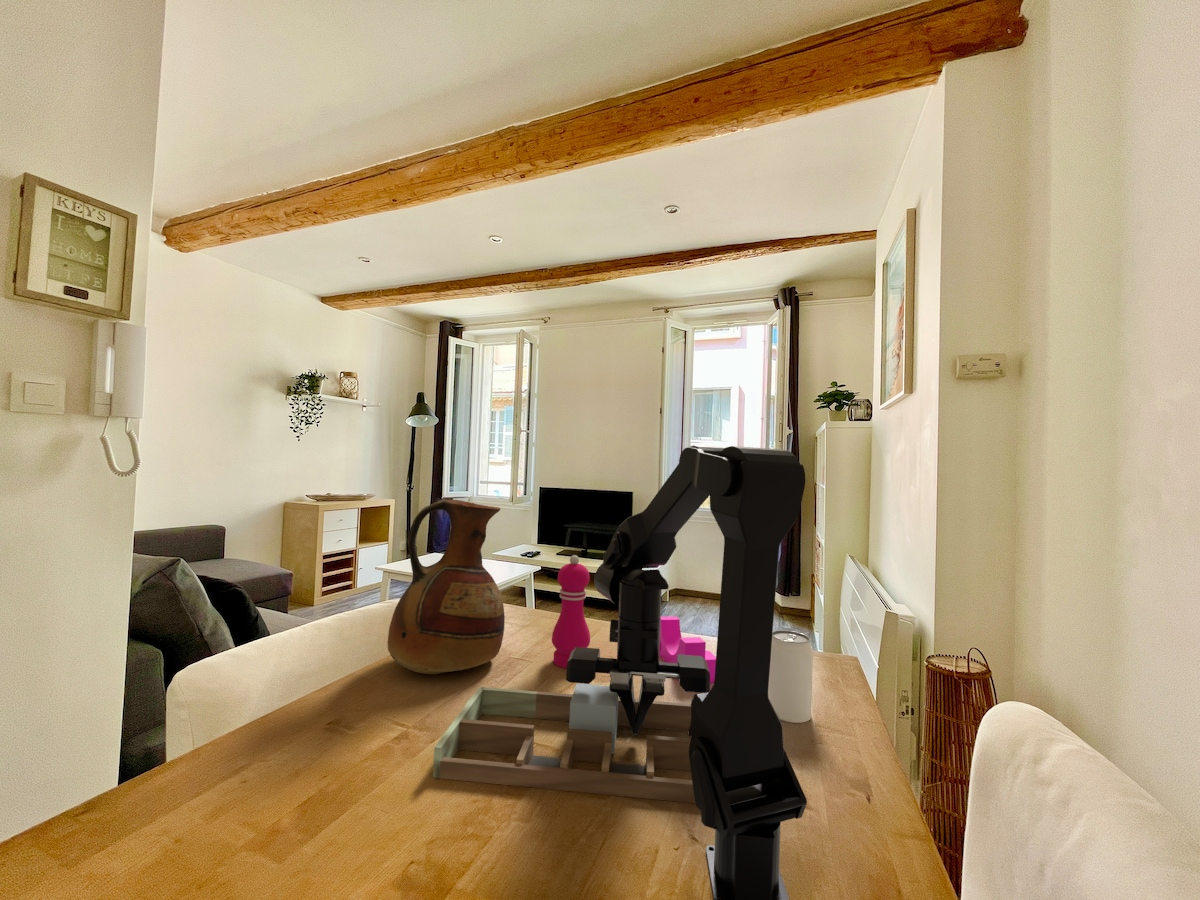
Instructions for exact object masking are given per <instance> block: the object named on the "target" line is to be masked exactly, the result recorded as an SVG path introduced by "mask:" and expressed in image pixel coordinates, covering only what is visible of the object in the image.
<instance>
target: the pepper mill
mask: <svg viewBox="0 0 1200 900" xmlns="http://www.w3.org/2000/svg"><path fill="white" fill-rule="evenodd" d="M569 562H570V563H566V564H564V565H563V566H562V567H561V568H560V569H559V571H558V574H557V582H558V584H559V586H560V587H561V588H560V589H559V598H560V599H561V607H560V608H561V611H560V614H559V617H558V619H557V622H556V623H555V625H554V626H553V627H554V628H553V631H552V633H551V643H552V645H553V646H554V648H555V650H554V652H553V659H552V660H553V664H554V665H555V666H557V667H559V668H563V669H567V662H568V659H569V657H570V655H571V652H572V651H573V650H574V649H575V648H576V647H583V648H589V646H590V644H591V633H590V629H589V626H588V624H587V620H586V618H585V613H584V601H585V599H587V598H586V597H587V590H586V587H587V586H589V585H588V584H589V583H590V572H589V570H588V568H587V567H586V566H584V565H583V564H581V563H579V562H580V558H579V556H578V555H576V554H573V555H571V556H570V558H569Z"/></svg>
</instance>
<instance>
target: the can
mask: <svg viewBox="0 0 1200 900" xmlns="http://www.w3.org/2000/svg"><path fill="white" fill-rule="evenodd" d="M813 662H814V651H813V647H812V644H811V638H810V637H809V636H808V635H806V634H805V633H801V632H798V631H792V630H786V629H785V630H783V629H782V630H781V629H780V630H775V631H774V630H773V633H772V647H771V660H770V673H769V686H768V697H769V700H770V702H771V704H772V706H773V708H774V710H775V712H776V713H777V715H778V717H779V719H780V721H781V722H782V721H783V722H787V723H792V724H801V723H805V722H809V720H811V719H812V706H813V705H812V703H813V701H812V700H813V668H814V663H813Z"/></svg>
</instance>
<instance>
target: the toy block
mask: <svg viewBox="0 0 1200 900" xmlns="http://www.w3.org/2000/svg"><path fill="white" fill-rule="evenodd" d="M681 633H682V632H681V619H680V618H679V617H678V616H676V615H675V616H661V623H660V652H659V657H661V658H662V659H663V662H668V663H677V656H678V654H680V655H693V656H702V657H703V658H704V659H705V660H706V662H707V665H708V669H709V672H710V684H712V683H713V684H714V679H715V665H716V655H715V654H713V653H712V652H711V651H710V650H706V645H707V642H706V640H704V639H703V638H701V636H695V637H694V636H693V637H691V636H690V637H689V636H688V637H687V636H686V637H682V634H681Z"/></svg>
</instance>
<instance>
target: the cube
mask: <svg viewBox="0 0 1200 900" xmlns="http://www.w3.org/2000/svg"><path fill="white" fill-rule="evenodd" d="M575 684H576V685H575V687H574V690H573V692H572V693H573V696H572V699H571V702H570V721H568V722H569V725H568V728H572V729H584V730H595V731H607V732H612V748H611V755H612V754H613V755H614V754H615V751H616V750H615V749H616V742H617V731H618V725H617V717H618V698H619V696H618V694H617V693H616V692H611V691H610V690H609V687H610V685H604V684H603V685H601V684H590V683H589V684H584V683H575Z"/></svg>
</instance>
